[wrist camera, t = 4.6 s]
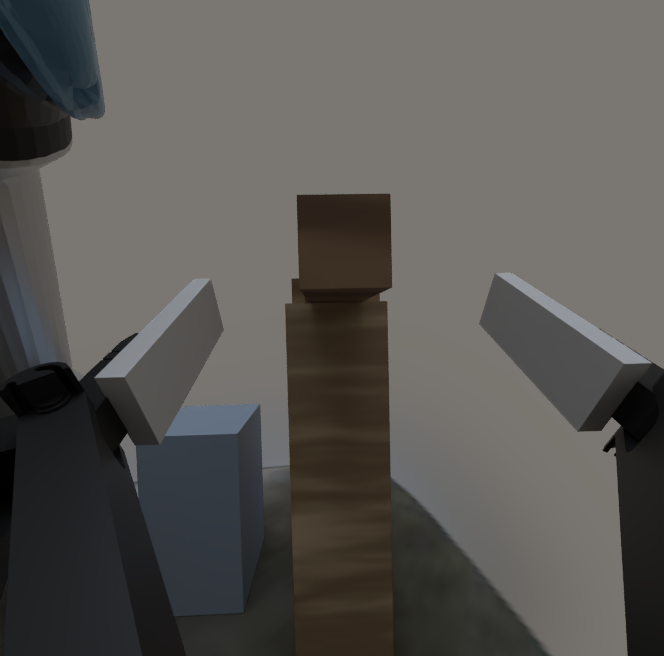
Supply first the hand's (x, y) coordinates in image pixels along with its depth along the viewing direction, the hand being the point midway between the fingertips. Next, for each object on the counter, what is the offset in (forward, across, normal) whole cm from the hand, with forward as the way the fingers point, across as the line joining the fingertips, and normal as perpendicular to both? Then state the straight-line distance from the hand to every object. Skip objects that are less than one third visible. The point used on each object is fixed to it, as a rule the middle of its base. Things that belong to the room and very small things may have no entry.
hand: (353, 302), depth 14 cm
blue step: (+2, -15, -36) cm, 39 cm away
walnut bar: (+10, 0, -5) cm, 11 cm away
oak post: (-2, 0, -34) cm, 34 cm away
